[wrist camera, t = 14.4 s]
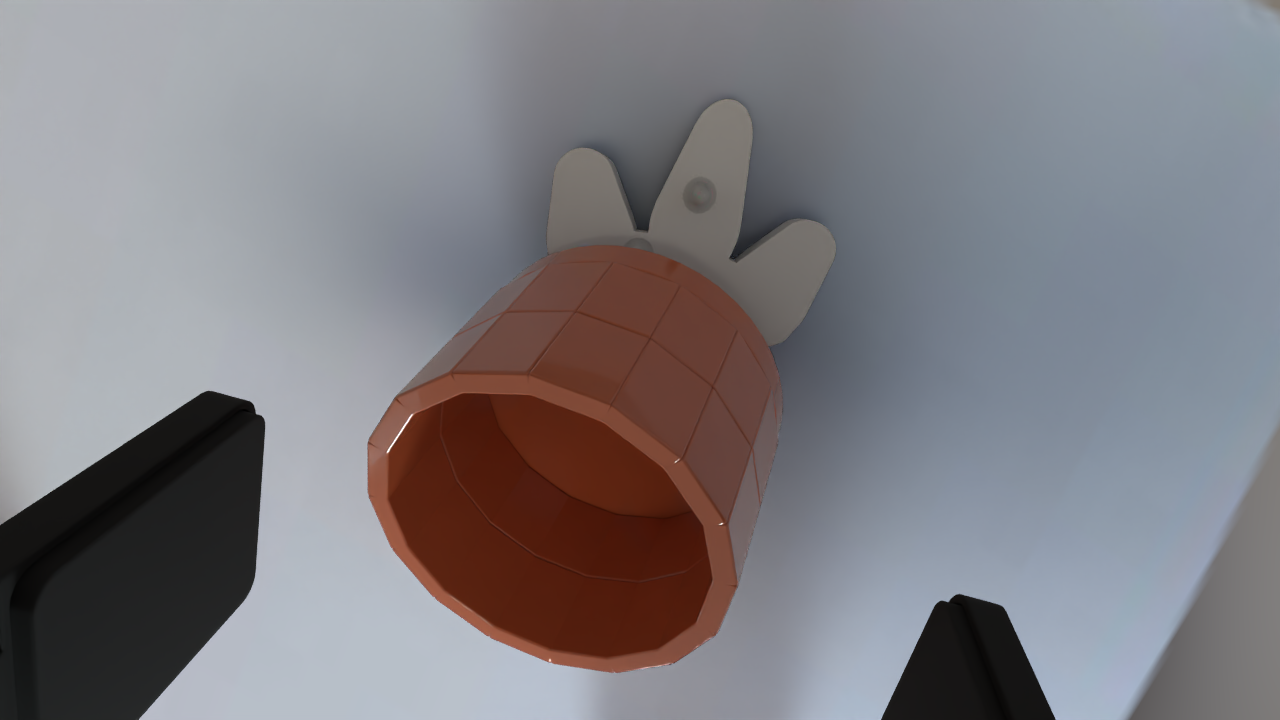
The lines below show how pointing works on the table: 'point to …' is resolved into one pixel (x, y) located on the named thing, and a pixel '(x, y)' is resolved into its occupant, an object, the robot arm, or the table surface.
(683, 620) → the small cup
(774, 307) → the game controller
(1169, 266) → the table surface
